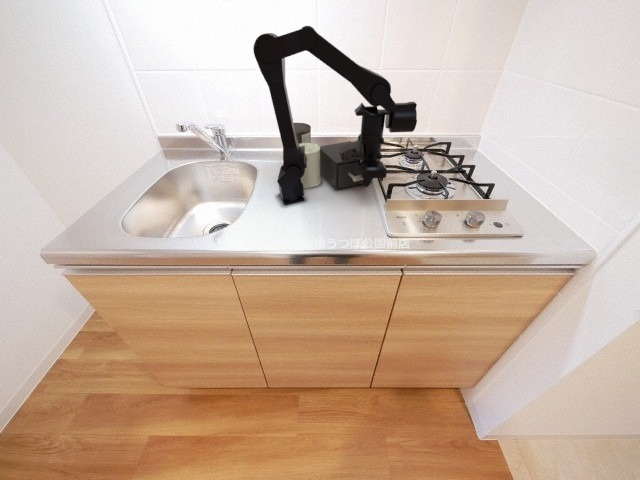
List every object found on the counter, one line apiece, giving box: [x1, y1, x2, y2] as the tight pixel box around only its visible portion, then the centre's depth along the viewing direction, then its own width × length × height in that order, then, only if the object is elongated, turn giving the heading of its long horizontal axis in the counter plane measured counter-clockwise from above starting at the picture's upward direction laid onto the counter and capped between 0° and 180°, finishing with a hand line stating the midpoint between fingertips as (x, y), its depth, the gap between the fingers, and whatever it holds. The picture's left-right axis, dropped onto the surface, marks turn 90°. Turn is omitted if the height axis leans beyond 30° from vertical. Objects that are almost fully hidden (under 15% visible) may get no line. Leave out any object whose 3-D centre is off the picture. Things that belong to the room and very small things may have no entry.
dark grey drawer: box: [338, 161, 364, 190], centre depth 82 cm, size 18×11×7 cm, turn 23°
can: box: [299, 142, 322, 189], centre depth 82 cm, size 9×9×12 cm
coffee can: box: [293, 122, 312, 144], centre depth 91 cm, size 10×10×14 cm
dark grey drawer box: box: [319, 140, 363, 190], centre depth 85 cm, size 15×13×9 cm
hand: (366, 186), depth 75 cm, fingers closed
